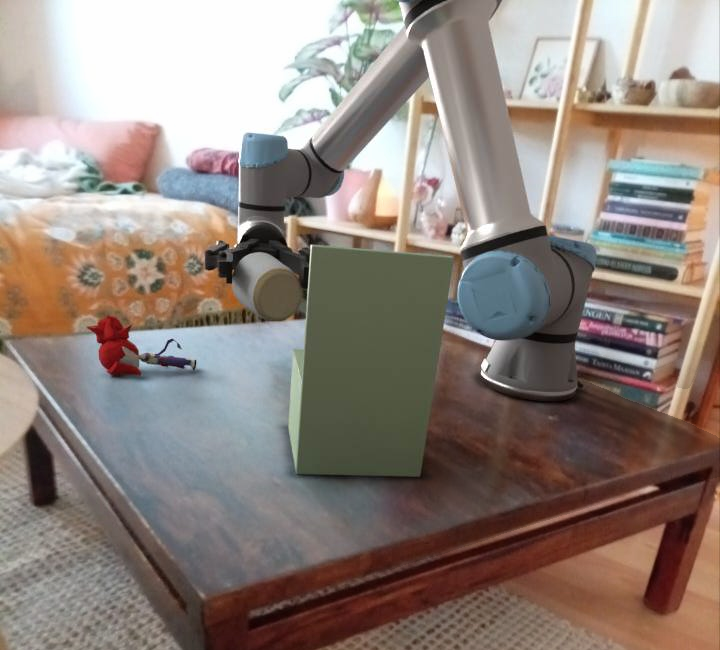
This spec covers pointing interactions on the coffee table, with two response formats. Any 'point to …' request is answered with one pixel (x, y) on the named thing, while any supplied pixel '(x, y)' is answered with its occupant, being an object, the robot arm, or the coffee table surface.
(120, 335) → the figurine
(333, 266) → the tall sage green prism
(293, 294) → the ceramic mug
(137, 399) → the coffee table surface
